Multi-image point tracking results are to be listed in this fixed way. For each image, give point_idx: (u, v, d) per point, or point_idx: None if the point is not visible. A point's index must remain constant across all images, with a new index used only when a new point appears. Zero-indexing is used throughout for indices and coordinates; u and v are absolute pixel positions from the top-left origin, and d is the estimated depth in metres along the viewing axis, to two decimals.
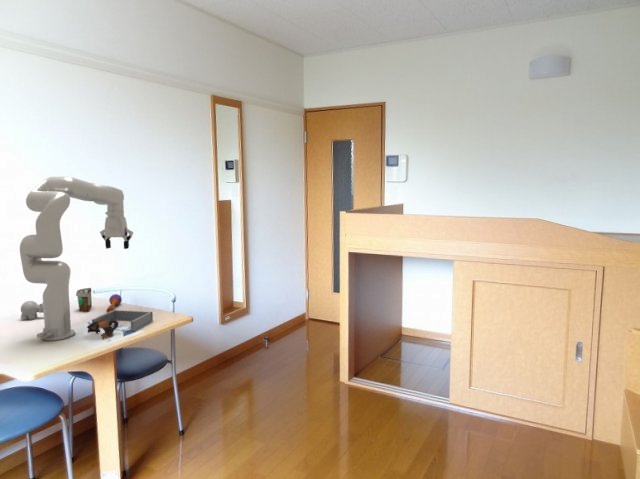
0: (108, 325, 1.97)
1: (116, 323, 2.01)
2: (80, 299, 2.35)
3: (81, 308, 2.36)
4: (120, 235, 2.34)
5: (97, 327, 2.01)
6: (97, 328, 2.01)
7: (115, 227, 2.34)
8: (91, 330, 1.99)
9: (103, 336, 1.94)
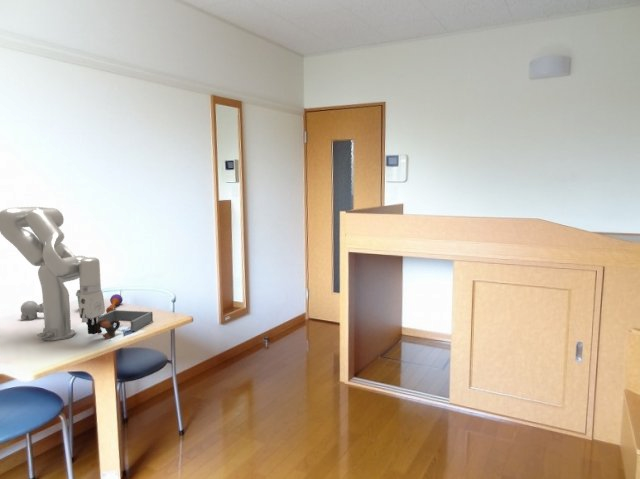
0: (110, 325, 1.97)
1: (118, 323, 2.01)
2: None
3: None
4: (103, 311, 1.94)
5: (99, 327, 2.01)
6: (99, 328, 2.01)
7: (99, 303, 1.91)
8: None
9: (105, 336, 1.94)
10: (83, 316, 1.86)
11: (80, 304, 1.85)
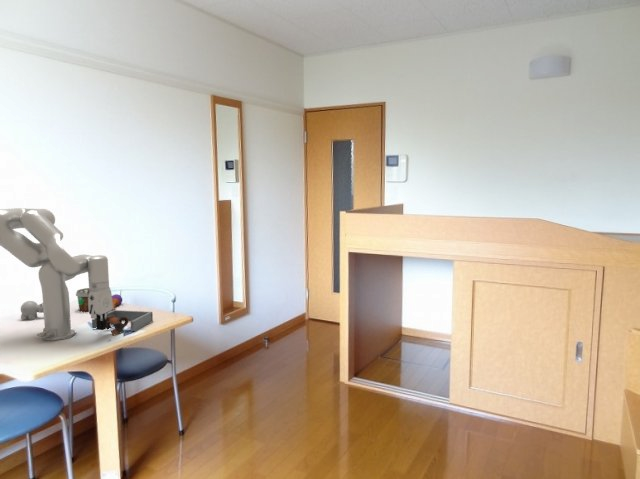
0: (118, 322, 2.02)
1: (126, 320, 2.05)
2: (80, 299, 2.35)
3: (81, 308, 2.36)
4: (111, 308, 1.99)
5: (108, 323, 2.06)
6: (108, 324, 2.06)
7: (108, 300, 1.96)
8: None
9: (113, 332, 1.99)
10: (92, 312, 1.91)
11: (89, 301, 1.91)
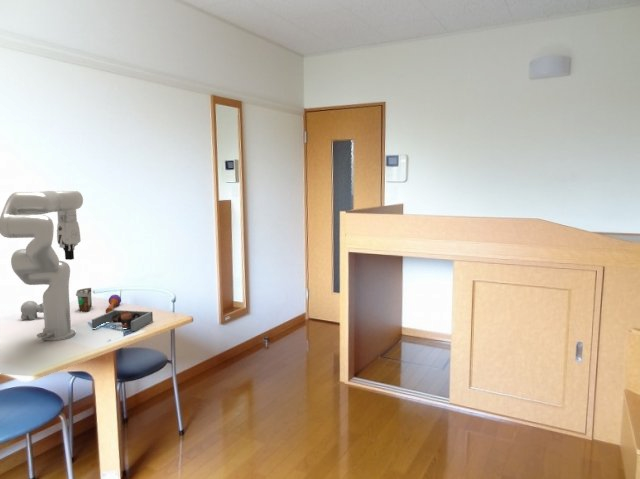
0: (130, 317, 2.09)
1: (139, 316, 2.12)
2: (80, 299, 2.35)
3: (81, 308, 2.36)
4: (79, 240, 2.18)
5: None
6: (123, 319, 2.15)
7: (75, 232, 2.15)
8: (117, 321, 2.13)
9: (124, 327, 2.06)
10: (60, 242, 2.10)
11: (58, 231, 2.10)
